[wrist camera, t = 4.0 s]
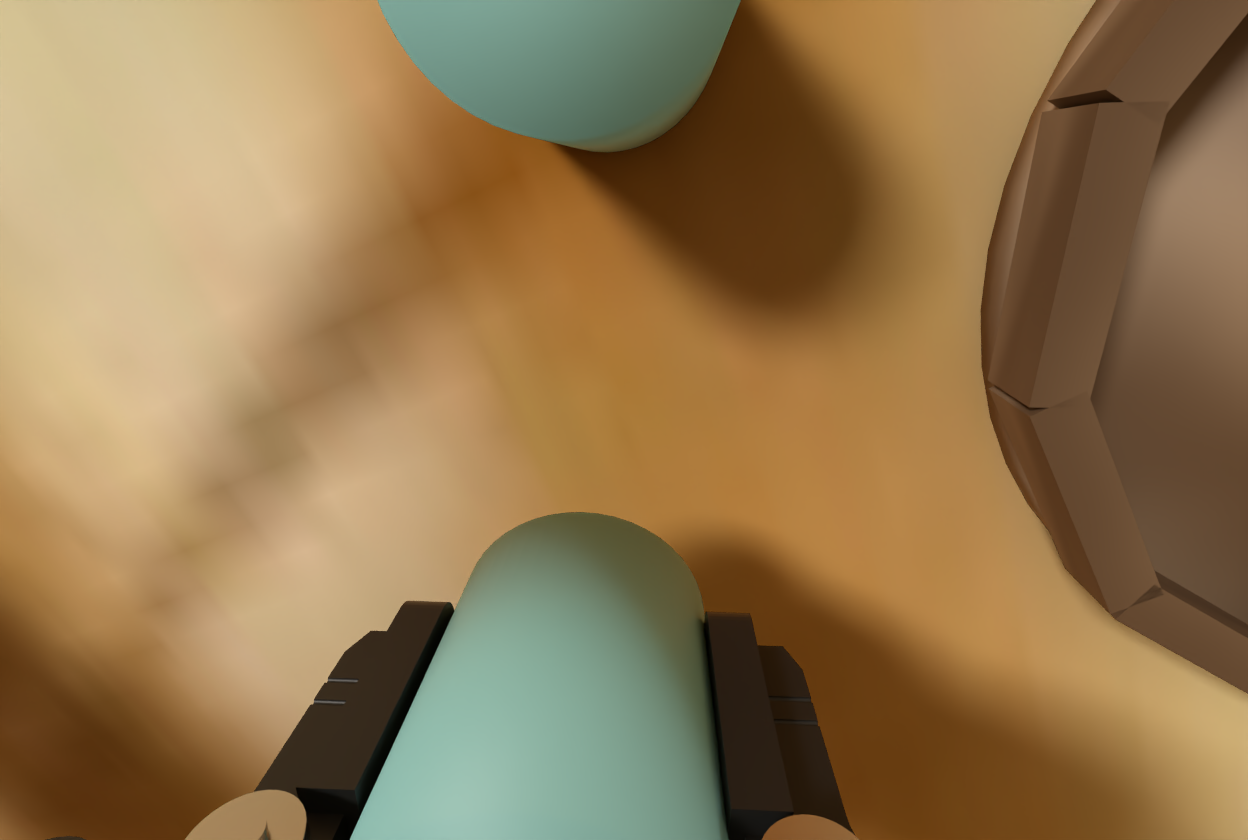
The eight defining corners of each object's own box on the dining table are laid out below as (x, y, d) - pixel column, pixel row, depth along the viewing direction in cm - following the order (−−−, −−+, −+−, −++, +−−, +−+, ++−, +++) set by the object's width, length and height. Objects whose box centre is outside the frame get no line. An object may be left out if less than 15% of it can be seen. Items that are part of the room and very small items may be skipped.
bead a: (625, 742, 13) (607, 1131, 8) (426, 647, 12) (256, 1001, 7) (751, 586, 11) (836, 936, 6) (532, 468, 11) (417, 748, 5)
